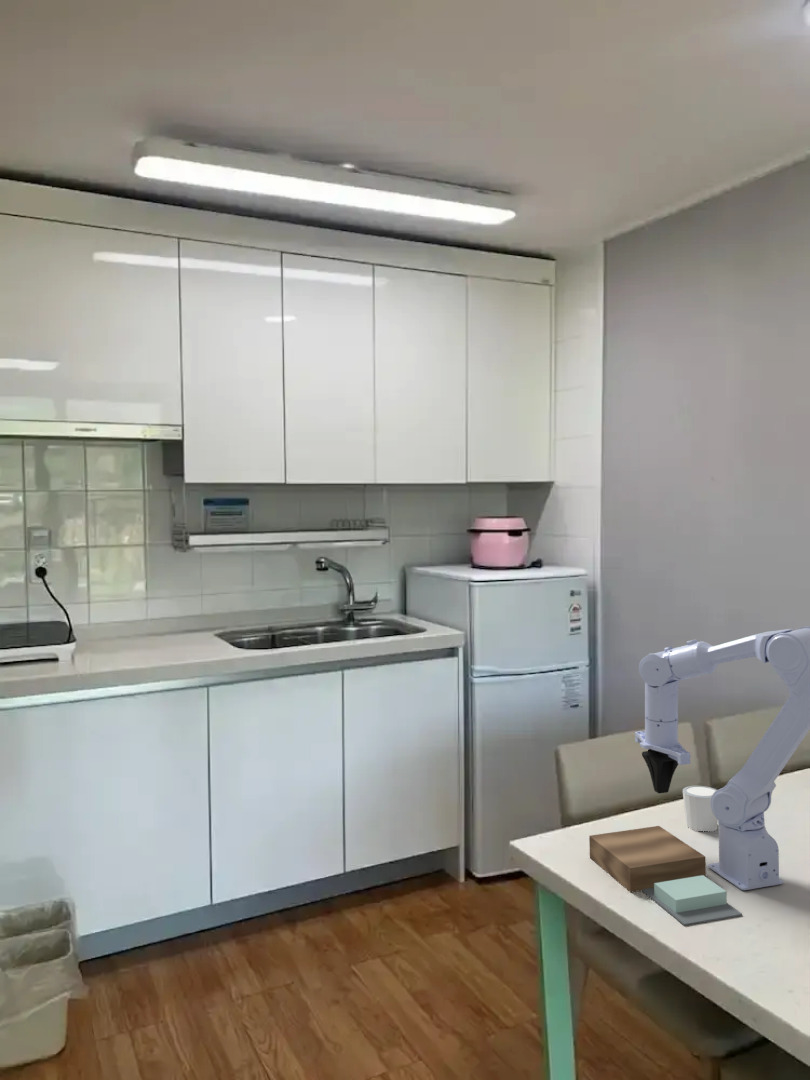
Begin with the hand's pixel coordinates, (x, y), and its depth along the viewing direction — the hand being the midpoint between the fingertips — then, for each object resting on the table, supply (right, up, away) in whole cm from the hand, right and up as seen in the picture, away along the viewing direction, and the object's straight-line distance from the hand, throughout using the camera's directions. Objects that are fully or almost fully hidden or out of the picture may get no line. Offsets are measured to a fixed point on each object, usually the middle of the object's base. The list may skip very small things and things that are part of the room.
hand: (661, 791), depth 151 cm
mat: (-2, -11, -20) cm, 23 cm away
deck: (-5, -11, -8) cm, 14 cm away
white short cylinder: (+11, -10, +10) cm, 18 cm away
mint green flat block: (-2, -9, -20) cm, 22 cm away
